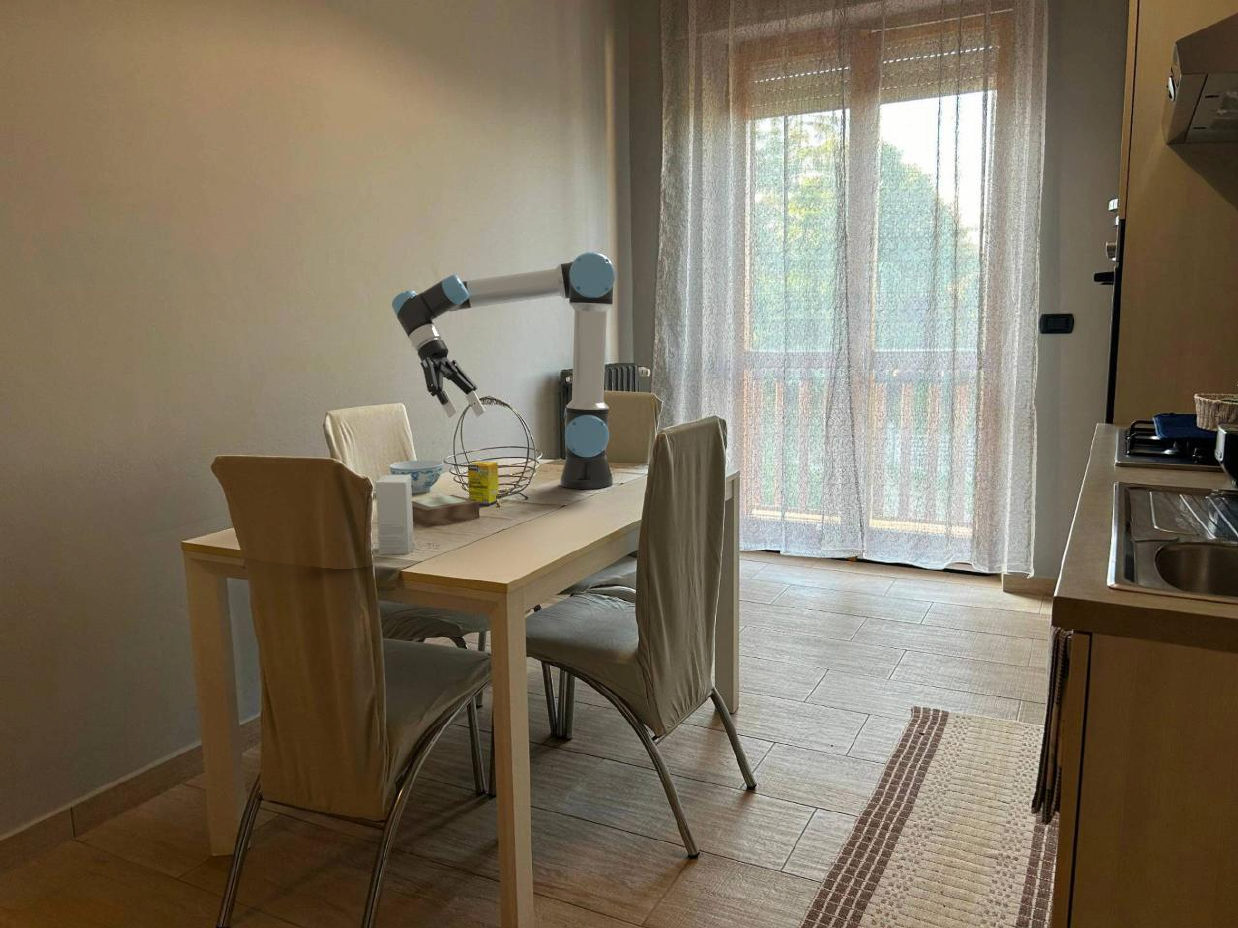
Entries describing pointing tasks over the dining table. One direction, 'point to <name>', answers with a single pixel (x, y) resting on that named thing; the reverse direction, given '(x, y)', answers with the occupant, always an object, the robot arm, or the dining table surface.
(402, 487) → the skincare box
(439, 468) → the chinaware
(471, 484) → the supplement box
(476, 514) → the flat brown box
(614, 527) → the dining table surface
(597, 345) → the robot arm
